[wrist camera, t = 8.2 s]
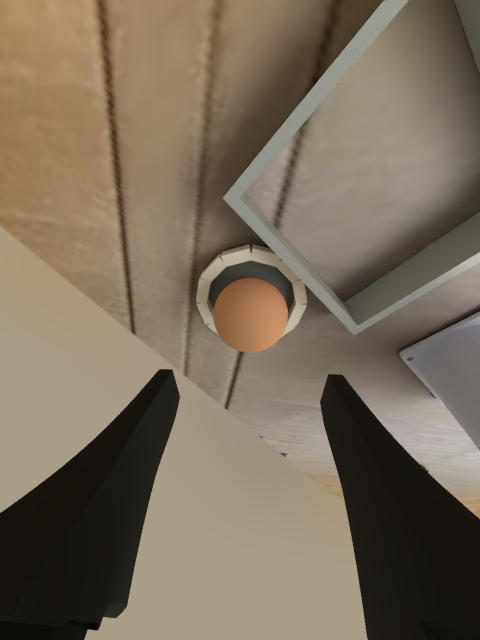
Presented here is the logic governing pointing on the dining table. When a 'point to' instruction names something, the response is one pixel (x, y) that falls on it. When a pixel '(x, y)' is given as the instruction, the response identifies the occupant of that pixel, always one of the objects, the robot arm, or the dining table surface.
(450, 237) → the low pen
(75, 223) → the dining table surface
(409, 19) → the dining table surface
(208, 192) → the dining table surface
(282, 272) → the ring
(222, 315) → the orange ball
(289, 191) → the dining table surface
